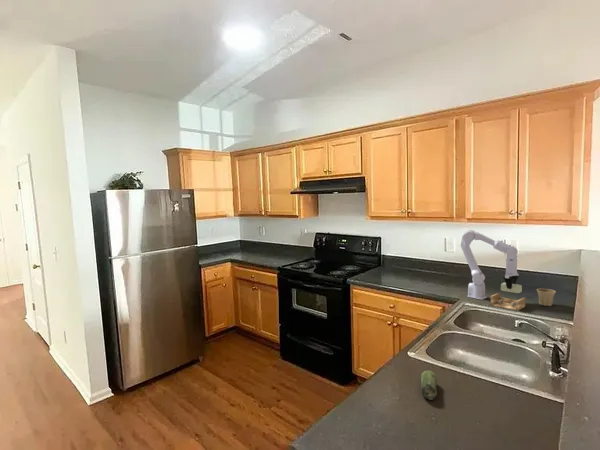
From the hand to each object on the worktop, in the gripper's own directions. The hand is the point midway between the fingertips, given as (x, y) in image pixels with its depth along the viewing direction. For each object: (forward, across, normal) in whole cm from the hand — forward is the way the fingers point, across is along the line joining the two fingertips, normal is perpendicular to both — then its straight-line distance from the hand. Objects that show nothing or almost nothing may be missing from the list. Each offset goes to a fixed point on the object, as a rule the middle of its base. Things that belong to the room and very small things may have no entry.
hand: (510, 287), depth 211 cm
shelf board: (+2, 0, 0) cm, 2 cm away
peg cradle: (+9, -11, -2) cm, 14 cm away
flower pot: (+9, +9, -16) cm, 21 cm away
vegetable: (+9, -128, -18) cm, 129 cm away
